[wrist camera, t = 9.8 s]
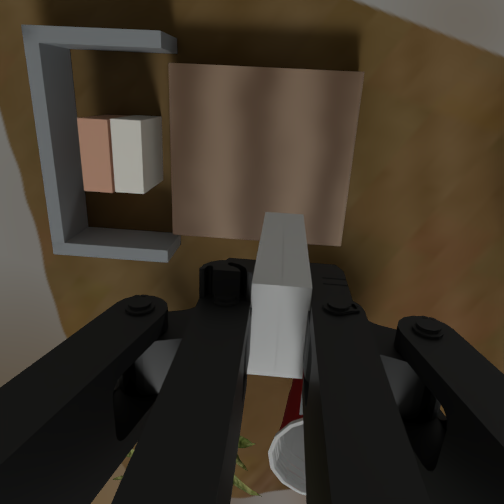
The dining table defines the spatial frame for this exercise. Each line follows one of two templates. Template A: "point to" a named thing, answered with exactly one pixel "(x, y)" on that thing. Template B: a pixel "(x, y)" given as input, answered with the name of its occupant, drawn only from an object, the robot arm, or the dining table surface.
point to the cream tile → (137, 153)
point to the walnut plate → (261, 148)
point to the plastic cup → (290, 443)
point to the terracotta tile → (97, 152)
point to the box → (67, 140)
